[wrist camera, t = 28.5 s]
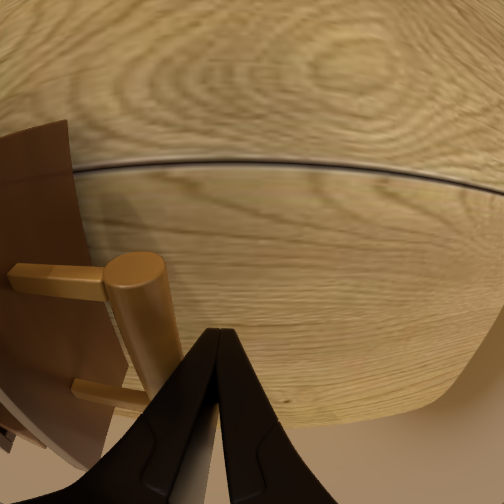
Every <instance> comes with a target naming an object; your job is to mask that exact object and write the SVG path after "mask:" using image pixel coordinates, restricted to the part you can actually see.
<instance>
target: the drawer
mask: <svg viewBox="0 0 504 504" xmlns="http://www.w3.org/2000/svg"><path fill="white" fill-rule="evenodd" d="M108 301H110V304H111V307H112V310H113V313H114V316H115V319H116V322H117V324H118V327H119V330H120V332H121V335H122V338H123V340H124V343H125V345H126V348H127V350H128V353H129V355H130V358H131V360H132V363H133V365H134V367H135V369H136V372H137V374H138V376H139V379H140V381H141V383H142V385H143V387H144V389H145V391H139V390H132V389H126V388H121V387H122V384H123V381H124V378H125V375H126V372H127V369H128V366H129V365H128V362H127V360H126V358H125V355H124V353H123V351H122V348H121V346H120V343H119V341H118V338H117V336H116V333H115V331H114V328H113V325H112V323H111V320H110V317H109V315H108V312H107V309H106V306H105V303H104V302H108ZM183 358H184V356H183V352H182V348H181V343H180V339H179V334H178V329H177V324H176V319H175V314H174V309H173V304H172V298H171V293H170V287H169V281H168V275H167V269H166V263H165V261H164V259H163V258H162V257H161V256H160V255H158V254H156V253H153V252H147V251H137V252H131V253H127V254H123V255H121V256H118V257H116V258H115V259H113V260H112V261H110V262H109V263H108V264H107V265H106V266H105V267H93V265H92V261H91V257H90V254H89V250H88V246H87V242H86V238H85V234H84V230H83V225H82V221H81V216H80V211H79V206H78V201H77V196H76V190H75V184H74V178H73V171H72V164H71V156H70V147H69V137H68V124H67V120H61V121H57V122H52V123H48V124H44V125H40V126H37V127H33V128H29V129H26V130H22V131H19V132H16V133H12V134H9V135H6V136H3V137H0V426H1V427H2V428H4V429H6V430H8V431H10V432H11V433H13V434H15V435H17V436H19V437H21V438H23V439H25V440H27V441H29V442H31V443H33V444H35V445H38V446H39V447H42V448H44V449H46V447H49V448H50V449H51V450H52V451H53V452H55V453H56V454H57V455H59V456H60V457H61V458H62V459H64V460H65V461H67V462H68V463H69V464H70V465H72V466H73V467H75V468H77V469H80V470H83V471H86V472H87V471H88V470H90V469H91V468H92V467H93V466H94V465H95V464H96V463H97V462H98V461H99V460H100V458H101V454H102V450H103V446H104V443H105V439H106V436H107V432H108V429H109V425H110V422H111V418H112V415H113V412H114V409H115V407H118V408H123V409H128V410H134V411H140V412H143V411H144V410H145V408H146V407H147V406H148V404H149V403H150V402H151V400H152V399H153V398H154V397H155V395H156V394H157V393H158V391H159V390H160V389H161V387H162V386H163V385H164V383H165V382H166V381H167V379H168V378H169V377H170V376H171V374H172V373H173V372H174V370H175V369H176V368H177V366H178V365H179V364H180V362H181V361H182V360H183Z"/></svg>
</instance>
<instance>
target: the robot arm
mask: <svg viewBox="0 0 504 504" xmlns="http://www.w3.org/2000/svg"><path fill="white" fill-rule="evenodd" d="M219 413H220V423H221V433H222V441H223V451H224V459H225V467H226V475H227V482H228V490H229V497H230V504H338V503H337V502H336V501H335V500H334V499H333V498H332V496H331V495H330V494H329V493H328V492H327V491H326V489H325V488H324V487H323V485H322V484H321V483H320V482H319V480H317V478H316V477H315V475H314V474H313V473H312V472H311V470H310V469H309V468H308V467H307V465H306V464H305V463H304V461H303V460H302V458H301V457H300V456H299V454H298V453H297V451H296V450H295V448H294V446H293V445H292V443H291V441H290V440H289V438H288V436H287V434H286V433H285V431H284V429H283V427H282V425H281V423H280V422H278V418H277V416H276V414H275V412H274V410H273V408H272V406H271V404H270V402H269V400H268V398H267V396H266V394H265V392H264V390H263V388H262V386H261V384H260V382H259V380H258V378H257V376H256V374H255V371H254V369H253V367H252V365H251V363H250V361H249V359H248V357H247V355H246V353H245V351H244V348H243V346H242V344H241V342H240V340H239V338H238V335H237V333H236V331H235V330H234V329H232V328H221V329H219V328H207V329H205V331H204V332H203V333H202V335H201V336H200V337H199V339H198V340H197V341H196V343H195V344H194V345H193V347H192V348H191V349H190V351H189V352H188V353H187V354H186V356H185V357H184V358H183V360H182V361H181V362H180V364H179V365H178V366H177V368H176V369H175V370H174V372H173V373H172V374H171V376H170V377H169V378H168V379H167V381H166V382H165V383H164V385H163V386H162V387H161V389H160V390H159V391H158V393H157V394H156V395H155V397H154V398H153V399H152V400H151V402H150V403H149V404H148V406H147V407H146V408H145V410H144V411H143V414H141V415H140V416H139V417H138V418H137V420H136V421H135V422H134V424H133V425H132V426H131V427H130V429H129V430H128V431H127V432H126V434H125V435H124V436H123V437H122V438H121V439H120V440H119V441H118V442H117V443H116V444H115V445H114V446H113V447H112V448H111V449H110V450H109V452H107V453H106V454H105V455H104V456H103V457H102V458H101V459H100V460H99V461H98V462H97V463H96V464H95V465H94V466H93V467H92V468H91V469H90V470H88V471H87V472H86V473H85V474H84V475H83V476H82V477H81V478H80V479H79V480H77V481H76V482H75V483H73V484H72V485H70V486H68V487H66V488H64V489H62V490H59V491H56V492H53V493H49V494H46V495H43V496H39V497H36V498H32V499H28V500H25V501H20V502H16V503H12V504H204V498H205V492H206V486H207V479H208V474H209V468H210V462H211V455H212V450H213V444H214V438H215V432H216V426H217V420H218V414H219ZM0 504H3V503H1V502H0ZM503 504H504V503H503Z"/></svg>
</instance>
